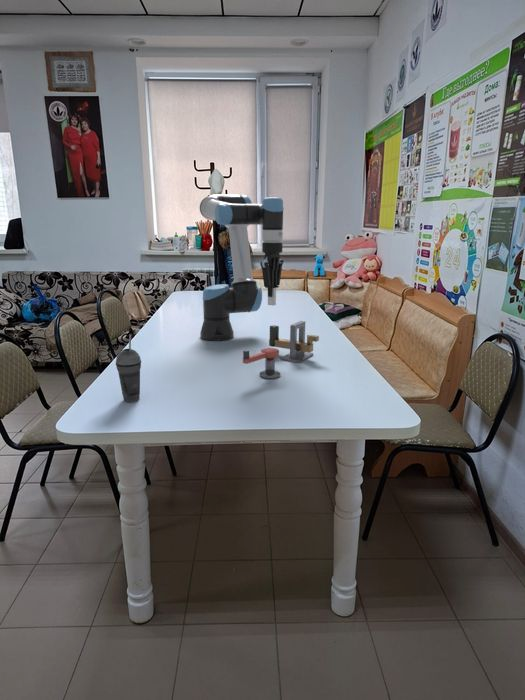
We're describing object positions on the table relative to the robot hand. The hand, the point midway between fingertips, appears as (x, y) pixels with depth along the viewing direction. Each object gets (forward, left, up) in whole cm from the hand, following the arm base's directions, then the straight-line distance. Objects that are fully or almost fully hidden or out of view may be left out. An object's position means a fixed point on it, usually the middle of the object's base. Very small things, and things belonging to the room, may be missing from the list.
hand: (271, 304), depth 172 cm
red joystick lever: (+11, -26, -13) cm, 31 cm away
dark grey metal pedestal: (+12, -22, -20) cm, 32 cm away
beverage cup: (-12, -62, -20) cm, 66 cm away
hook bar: (+8, +2, -17) cm, 19 cm away
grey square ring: (+10, +2, -20) cm, 23 cm away
